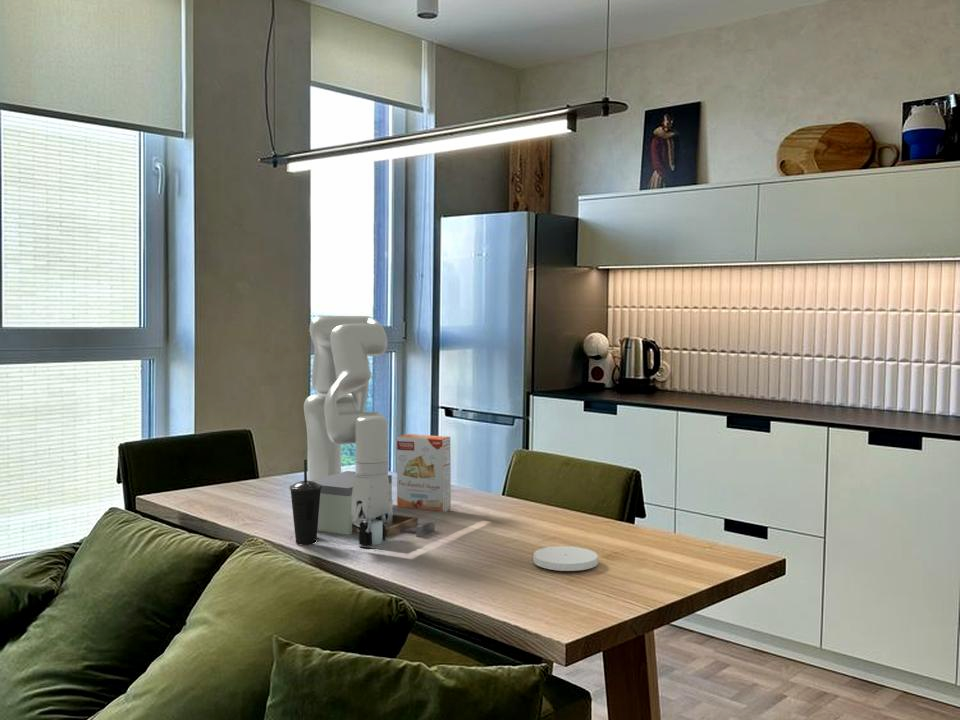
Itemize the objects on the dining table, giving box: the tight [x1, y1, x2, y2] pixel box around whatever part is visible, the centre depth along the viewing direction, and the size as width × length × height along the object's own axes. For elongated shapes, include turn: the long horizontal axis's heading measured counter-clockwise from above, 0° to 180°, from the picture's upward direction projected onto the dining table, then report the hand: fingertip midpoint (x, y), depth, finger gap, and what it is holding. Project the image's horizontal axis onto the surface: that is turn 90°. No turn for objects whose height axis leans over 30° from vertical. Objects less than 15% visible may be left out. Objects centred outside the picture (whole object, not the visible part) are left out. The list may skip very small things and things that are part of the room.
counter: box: [312, 470, 393, 536], centre depth 227 cm, size 19×25×12 cm
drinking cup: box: [288, 459, 322, 546], centre depth 214 cm, size 8×8×20 cm
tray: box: [352, 513, 436, 538], centre depth 223 cm, size 14×19×3 cm
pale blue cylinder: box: [363, 519, 384, 550], centre depth 211 cm, size 5×5×6 cm
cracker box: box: [396, 433, 452, 513], centre depth 248 cm, size 14×6×21 cm, turn 68°
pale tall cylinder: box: [378, 499, 394, 526], centre depth 228 cm, size 5×5×6 cm
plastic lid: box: [532, 545, 599, 572], centre depth 196 cm, size 14×14×2 cm
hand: (372, 544), depth 211 cm, fingers closed on pale blue cylinder, 4 cm apart
